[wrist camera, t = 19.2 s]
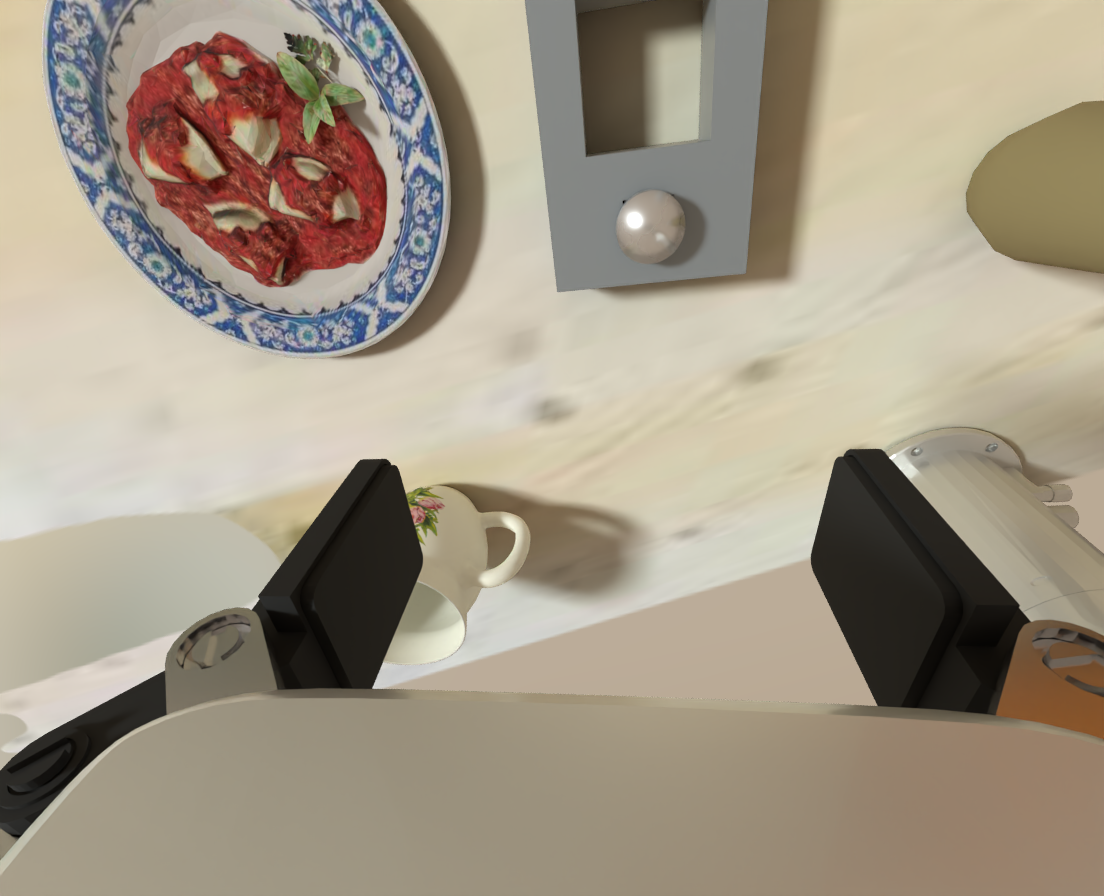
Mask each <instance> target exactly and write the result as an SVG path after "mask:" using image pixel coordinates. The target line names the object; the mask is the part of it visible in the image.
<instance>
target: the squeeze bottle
mask: <svg viewBox="0 0 1104 896" xmlns="http://www.w3.org/2000/svg"><path fill="white" fill-rule="evenodd" d="M966 202H967V212H968V214H969V215H970V217H971V218H972V220H973V222H974V223H975V225H976V226H977V227H978V229H979V230H980V232H981V233H982V234H983V236H984V237H985V238H986V240H987V241H988V242H989V244H990V245H991V247H992V248H993V249H994V251H997V252H999V253H1001V254H1003V255H1005V256H1008V257H1010V258H1012V259H1014V260H1018V261H1024V262H1031V263H1037V264H1044V265H1050V266H1057V267H1063V268H1070V269H1076V270H1083V271H1089V272H1096V273H1102V274H1104V101H1092V102H1082V103H1079V104H1077V105H1075V106H1072V107H1070V108H1068V109H1065V110H1063V111H1061V112H1058V113H1056V114H1054V115H1052V116H1049V117H1047V118H1045V119H1043V120H1041V121H1039V122H1037V123H1034V124H1032V125H1030V126H1028V127H1026V128H1024V129H1022V130H1020V131H1018V132H1016V133H1014V134H1012V135H1009V136H1008V137H1006V138H1005V139H1004V140H1003V141H1002V142H1000V143H999V144H998V145H997V146H995V147H994V148H993V149H992V150H990V151H989V152H988V153H987V155H986V156H985V157H984V159H983V160H982V161H981V163H980V164H979V166H978V167H977V168H976V170H975V171H974V172H973V175H972V178H971V181H970V184H969V186H968V189H967V192H966Z"/></svg>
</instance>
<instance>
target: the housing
mask: <svg viewBox="0 0 1104 896" xmlns="http://www.w3.org/2000/svg"><path fill="white" fill-rule="evenodd" d="M648 1H654V0H525V6H526V15H527V24H528V33H529V42H530V51H531V60H532V69H533V78H534V87H535V96H536V105H537V114H538V123H539V132H540V141H541V150H542V159H543V168H544V177H545V186H546V195H547V204H548V213H549V222H550V231H551V240H552V249H553V258H554V267H555V276H556V285H557V292H565V291H575V290H585V289H595V288H605V287H615V286H625V285H635V284H645V283H655V282H666V281H676V280H686V279H696V278H706V277H716V276H726V275H736V274H746V268H747V255H748V243H749V231H750V218H751V206H752V194H753V182H754V169H755V157H756V145H757V133H758V120H759V108H760V96H761V84H762V71H763V59H764V47H765V35H766V22H767V10H768V0H703V10H702V44H701V78H700V111H699V139H698V140H691V141H683V142H675V143H668V144H660V145H653V146H645V147H638V148H630V149H623V150H615V151H608V152H600V153H593V154H587V148H586V134H585V120H584V105H583V91H582V77H581V63H580V49H579V34H578V20H577V13H583V12H589V11H595V10H601V9H607V8H612V7H618V6H624V5H630V4H636V3H642V2H648ZM646 189H659V190H663V191H665V192H667V193H669V194H670V195H671V196H673V197H674V198H675V199H676V200H677V201H678V202H679V204H680V205H681V207H682V209H683V212H684V215H685V224H686V225H685V233H684V236H683V239H682V241H681V243H680V245H679V247H678V248H677V249H676V251H675V252H674V253H673V254H672V255H670V256H669V257H668V258H666V259H665V260H663V261H661V262H658V263H653V264H642V263H638V262H635V261H633V260H632V259H630V258H629V257H627V256H626V255H625V254H624V252H623V251H622V250H621V248H620V246H619V243H618V240H617V236H616V220H617V216H618V213H619V211H620V209H621V207H622V206H623V201H624V200H627V199H629V198H630V197H631V196H632V195H634V194H635V193H637V192H639V191H642V190H646Z"/></svg>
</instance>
